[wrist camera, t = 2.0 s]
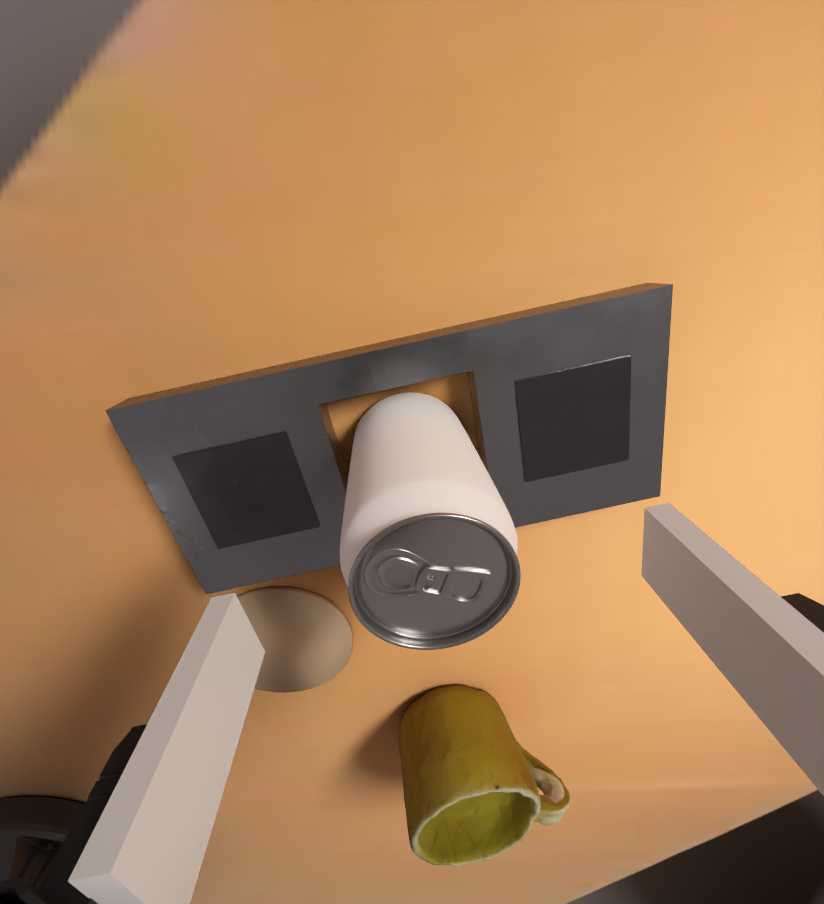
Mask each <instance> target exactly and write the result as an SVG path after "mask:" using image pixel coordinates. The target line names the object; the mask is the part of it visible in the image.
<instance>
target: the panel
mask: <svg viewBox="0 0 824 904" xmlns="http://www.w3.org/2000/svg"><path fill="white" fill-rule="evenodd" d="M672 290H673V284H657V283H645V284H641V285H636V286H632V287H627V288H623V289H618V290H614V291H609V292H605V293H600V294H596V295H591V296H587V297H582V298H578V299H573V300H569V301H564V302H560V303H555V304H551V305H546V306H542V307H537V308H533V309H528V310H524V311H519V312H515V313H510V314H506V315H501V316H497V317H492V318H488V319H483V320H479V321H474V322H470V323H465V324H461V325H456V326H452V327H447V328H443V329H438V330H434V331H429V332H425V333H421V334H416V335H412V336H407V337H403V338H398V339H394V340H389V341H385V342H380V343H376V344H371V345H367V346H362V347H358V348H353V349H349V350H344V351H340V352H335V353H331V354H326V355H322V356H317V357H313V358H308V359H304V360H299V361H295V362H290V363H286V364H281V365H277V366H272V367H268V368H263V369H259V370H254V371H250V372H245V373H241V374H236V375H232V376H227V377H223V378H218V379H214V380H209V381H205V382H200V383H196V384H191V385H187V386H182V387H178V388H173V389H169V390H164V391H160V392H155V393H151V394H146V395H142V396H137V397H133V398H128V399H126V400H124V401H123V402H121V403H119V404H117V405H115V406H113V407H111V408H109V409H108V410H106V412H107V414H108V416H109V418H110V420H111V422H112V423H113V425H114V427H115V429H116V431H117V432H118V434H119V436H120V438H121V440H122V442H123V443H124V445H125V447H126V449H127V451H128V453H129V454H130V456H131V458H132V460H133V462H134V463H135V465H136V467H137V469H138V471H139V473H140V474H141V476H142V478H143V480H144V482H145V484H146V485H147V487H148V489H149V491H150V493H151V494H152V496H153V498H154V500H155V502H156V504H157V505H158V507H159V509H160V511H161V513H162V515H163V516H164V518H165V520H166V522H167V524H168V525H169V527H170V529H171V531H172V533H173V535H174V536H175V538H176V540H177V542H178V544H179V546H180V547H181V549H182V551H183V553H184V555H185V556H186V558H187V560H188V562H189V564H190V566H191V567H192V569H193V571H194V573H195V575H196V576H197V578H198V580H199V582H200V584H201V586H202V587H203V589H204V591H205V593H206V594H209V593H214V592H218V591H223V590H227V589H232V588H237V587H241V586H246V585H251V584H255V583H260V582H264V581H269V580H274V579H278V578H283V577H288V576H292V575H297V574H301V573H306V572H311V571H315V570H320V569H325V568H329V567H334V566H339V565H340V540H341V531H342V522H343V514H344V507H345V499H346V491H347V484H348V474H347V471H346V468H345V465H344V461H343V458H342V455H341V451H340V448H339V445H338V442H337V438H336V435H335V432H334V429H333V425H332V422H331V419H330V416H329V412H328V409H327V406H326V403H328V402H333V401H337V400H342V399H346V398H351V397H356V396H360V395H365V394H369V393H374V392H378V391H383V390H387V389H392V388H396V387H401V386H405V385H410V384H414V383H419V382H423V381H428V380H432V379H437V378H441V377H446V376H451V375H455V374H460V373H464V372H467V373H468V380H469V387H470V394H471V400H472V407H473V414H474V420H475V427H476V434H477V441H478V447H479V454H480V459H481V460H482V462H483V464H484V466H485V468H486V470H487V472H488V473H489V475H490V477H491V479H492V481H493V483H494V485H495V487H496V488H497V490H498V492H499V494H500V496H501V498H502V500H503V502H504V504H505V506H506V508H507V510H508V512H509V514H510V516H511V518H512V521H513V524H514V527H519V526H524V525H528V524H533V523H538V522H542V521H547V520H551V519H556V518H561V517H565V516H570V515H575V514H579V513H584V512H589V511H593V510H598V509H602V508H607V507H612V506H616V505H621V504H626V503H630V502H635V501H639V500H644V499H649V498H653V497H658V496H660V487H661V471H662V454H663V438H664V421H665V405H666V389H667V372H668V356H669V339H670V323H671V307H672Z"/></svg>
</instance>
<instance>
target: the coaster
mask: <svg viewBox="0 0 824 904" xmlns="http://www.w3.org/2000/svg"><path fill="white" fill-rule="evenodd" d="M237 598H238V600H239V602H240V604H241V606H242V608H243V610H244V611H245V613H246V615H247V617H248V619H249V621H250V623H251V625H252V627H253V629H254V631H255V633H256V635H257V637H258V639H259V641H260V643H261V645H262V646H263V648H264V650H265V654H264V657H263V661H262V664H261V667H260V671H259V674H258V677H257V681H256V684H255V687H254V688H256V689H259V690H264V691H270V692H296V691H302V690H306V689H310V688H313V687H316V686H319V685H321V684H323V683H325V682H327V681H329V680H330V679H332V678H333V677H334V676H336V675H337V674H338V673H339V672H340V671H341V670H342V669H343V668H344V666H345V665H346V663H347V662H348V660H349V658H350V655H351V652H352V645H353V634H352V629H351V626H350V624H349V621H348V619H347V618H346V616H345V615H344V613H343V612H342V611H341V610H340V609H339V608H338V607H337V606H336V605H334V604H333V603H332V602H331V601H329V600H327V599H326V598H324V597H322V596H320V595H318V594H316V593H313V592H310V591H308V590H304V589H299V588H294V587H283V586H275V587H264V588H258V589H255V590H251V591H248V592H245V593H243V594H240V595H239V596H237Z"/></svg>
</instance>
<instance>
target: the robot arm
mask: <svg viewBox="0 0 824 904" xmlns="http://www.w3.org/2000/svg"><path fill="white" fill-rule="evenodd" d="M641 576H642V577H643V578H644V579H645V580H646V582H647V583H648V584H649V585H650V586H651V588H652V589H653V590H654V591H655V592H656V594H657V595H658V596H659V597H660V599H661V600H662V601H663V602H664V603H665V605H666V606H667V607H668V608H669V609H670V611H671V612H672V613H673V614H674V615H675V617H676V618H677V619H678V620H679V622H680V623H681V624H682V625H683V626H684V628H685V629H686V630H687V631H688V632H689V634H690V635H691V636H692V637H693V638H694V640H695V641H696V642H697V643H698V645H699V646H700V647H701V648H702V649H703V651H704V652H705V653H706V654H707V655H708V657H709V658H710V659H711V660H712V661H713V663H714V664H715V665H716V666H717V668H718V669H719V670H720V671H721V672H722V674H723V675H724V676H725V677H726V678H727V680H728V681H729V682H730V683H731V684H732V686H733V687H734V688H735V689H736V690H737V692H738V693H739V694H740V695H741V697H742V698H743V699H744V700H745V701H746V703H747V704H748V705H749V706H750V707H751V709H752V710H753V711H754V712H755V713H756V715H757V716H758V717H759V718H760V720H761V721H762V722H763V723H764V724H765V726H766V727H767V728H768V729H769V730H770V732H771V733H772V734H773V735H774V736H775V738H776V739H777V740H778V741H779V743H780V744H781V745H782V746H783V747H784V749H785V750H786V751H787V752H788V753H789V755H790V756H791V757H792V758H793V759H794V761H795V762H796V763H797V764H798V766H799V767H800V768H801V769H802V770H803V772H804V773H805V774H806V775H807V776H808V778H809V779H810V780H811V781H812V782H813V784H814V785H815V786H816V787H817V788H818V790H819V791H820V792H821V793H822V795H824V605H822V604H820V603H818V602H816V601H814V600H811V599H809V598H807V597H805V596H803V595H801V594H799V593H797V594H792V595H787V596H782V597H780V596H779V595H778V594H777V593H776V592H775V591H773V590H772V589H771V588H770V587H769V586H767V585H766V584H765V583H764V582H763V581H761V580H760V579H759V578H758V577H757V576H755V575H754V574H753V573H752V572H751V571H750V570H748V569H747V568H746V567H745V566H744V565H742V564H741V563H740V562H739V561H738V560H736V559H735V558H734V557H733V556H732V555H731V554H729V553H728V552H727V551H726V550H725V549H723V548H722V547H721V546H720V545H719V544H717V543H716V542H715V541H714V540H713V539H711V538H710V537H709V536H708V535H707V534H706V533H704V532H703V531H702V530H701V529H700V528H698V527H697V526H696V525H695V524H694V523H692V522H691V521H690V520H689V519H688V518H686V517H685V516H684V515H683V514H682V513H681V512H679V511H678V510H677V509H676V508H675V507H673V506H672V505H671V504H670V503H667V504H662V505H657V506H652V507H647V508H645V512H644V533H643V554H642V575H641ZM264 654H265V650H264V648H263V646H262V645H261V643H260V641H259V639H258V637H257V635H256V633H255V631H254V629H253V627H252V625H251V623H250V621H249V619H248V617H247V615H246V613H245V611H244V610H243V608H242V606H241V604H240V602H239V600H238V598H237V596H236V594H235V593H231V594H226V595H221V596H216V597H212V598H211V600H210V602H209V604H208V606H207V607H206V609H205V611H204V613H203V615H202V617H201V619H200V621H199V623H198V625H197V627H196V629H195V631H194V633H193V635H192V637H191V639H190V641H189V643H188V645H187V647H186V649H185V651H184V653H183V655H182V657H181V659H180V661H179V663H178V665H177V667H176V669H175V671H174V673H173V675H172V677H171V679H170V680H169V682H168V684H167V686H166V688H165V690H164V692H163V694H162V696H161V698H160V700H159V702H158V704H157V706H156V708H155V710H154V712H153V714H152V716H151V718H150V720H149V722H148V724H146V725H141V726H136V727H133V728H132V729H131V730H130V732H129V733H128V734H127V735H126V736H125V738H124V739H123V740H122V741H121V742H120V743H119V745H118V746H117V747H116V748H115V749H114V751H113V752H112V754H111V756H110V758H109V760H108V761H107V763H106V765H105V767H104V769H103V771H102V772H101V774H100V779H99V781H96V783H95V785H94V787H93V789H92V791H91V792H90V794H89V796H88V801H87V803H84V804H82V803H78V802H74V801H70V800H64V799H57V798H49V797H13V798H5V799H0V904H190V901H191V898H192V895H193V891H194V888H195V885H196V881H197V878H198V875H199V871H200V868H201V865H202V861H203V858H204V855H205V851H206V848H207V845H208V841H209V838H210V834H211V831H212V828H213V824H214V821H215V818H216V814H217V811H218V808H219V804H220V801H221V798H222V794H223V791H224V788H225V784H226V781H227V778H228V774H229V771H230V768H231V764H232V761H233V758H234V754H235V751H236V748H237V744H238V741H239V738H240V734H241V731H242V727H243V724H244V721H245V717H246V714H247V711H248V707H249V704H250V701H251V697H252V694H253V691H254V687H255V684H256V681H257V677H258V674H259V671H260V667H261V664H262V661H263V657H264Z"/></svg>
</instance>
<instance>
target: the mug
mask: <svg viewBox="0 0 824 904" xmlns="http://www.w3.org/2000/svg"><path fill="white" fill-rule="evenodd" d="M399 749H400V755H401V761H402V773H403V788H404V801H405V808H406V817H407V826H408V833H409V840H410V845H411V848H412V850H413V852H414V853H415V855H416V856H418V857H419V858H420V859H422V860H424V861H426V862H428V863H430V864H432V865H450V866H461V865H465V864H469V863H474V862H476V861H481V860H486V859H489V858H493V857H495V856H497V855H500V854H501V853H503V852H505V851H507V850H508V849H510V848H511V847H513V846H514V845H516V844H517V843H518V842H520V841H521V840H522V839H523V837H524V836H525V835H526V834H527V833H528V832H529V830H530V829H531V825H532V821H536V822H539V823H541V824H543V825H555V824H557V823H559V822H560V820H561V819H562V817H563V815H564V813H565V812H566V811H567V809H568V808H569V805H570V796H569V792H568V790H567V789H566V787H565V786H564V784H563V782H562V780H561V779H560V778H559V777H558V776H557V775H556V774H555V773H554V772H553V771H552V770H551V769H550V768H548V767H547V766H546V765H545V764H543V763H542V762H541V761H540V760H538V759H536V758H535V757H533V756H532V755H531V754H530V753H529V752H527V751H526V750H524V749H523V748H522V747H521V746H520V745H519V743H518V742H517V741H516V739H515V737H514V735H513V733H512V731H511V729H510V727H509V725H508V722H507V720H506V718H505V716H504V714H503V712H502V710H501V708H500V706H499V705H498V703H497V701H496V700H495V699H494V697H492V696H491V695H490V694H489V693H487V692H486V691H484V690H476V689H473V688H471V687H469V686H465V685H447V686H441V687H438V688H435V689H433V690H430V691H428V692H427V693H426V694H425V695H424V696H422V697H421V698H420V699H418V700H417V701H415V702H413V703H412V704H411V705H410V706H409V707H408V708H407V710H406V711H405V713H404V716H403V718H402V719H401V723H400V729H399ZM537 787H538V788H539V789H540V790H541V791H542V792H543V793H544V795H540V794H539V791H538V788H537Z"/></svg>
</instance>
